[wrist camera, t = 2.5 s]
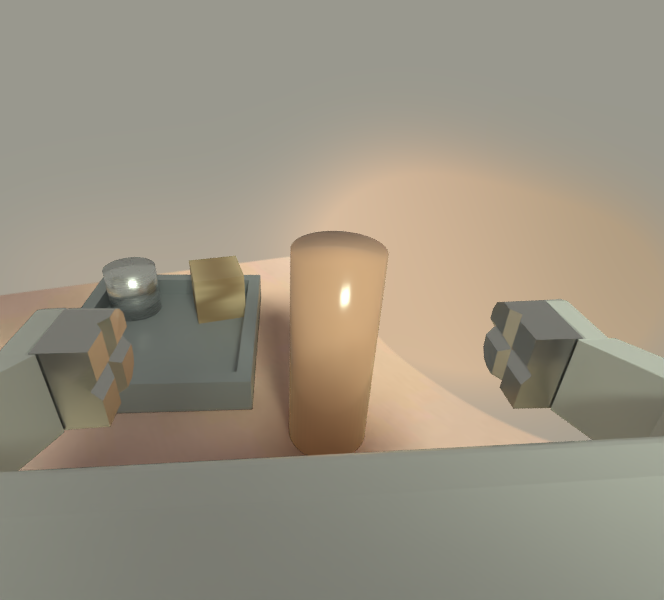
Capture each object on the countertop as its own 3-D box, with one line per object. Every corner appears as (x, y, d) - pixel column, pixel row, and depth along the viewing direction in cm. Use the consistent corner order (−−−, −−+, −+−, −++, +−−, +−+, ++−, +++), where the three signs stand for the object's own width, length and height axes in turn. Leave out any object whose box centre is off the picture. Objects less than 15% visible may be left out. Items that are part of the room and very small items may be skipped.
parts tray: (34, 415, 29) (23, 386, 27) (111, 297, 41) (105, 274, 40) (252, 409, 30) (250, 381, 29) (260, 297, 43) (260, 275, 42)
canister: (289, 462, 27) (291, 271, 20) (288, 403, 31) (289, 230, 24) (370, 458, 27) (398, 272, 21) (358, 401, 31) (378, 231, 25)
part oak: (198, 323, 37) (193, 282, 35) (193, 300, 40) (188, 260, 38) (246, 316, 38) (244, 276, 36) (237, 294, 41) (235, 255, 39)
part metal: (105, 321, 36) (94, 279, 34) (120, 297, 40) (111, 257, 38) (155, 321, 37) (148, 279, 35) (166, 296, 40) (160, 257, 38)
